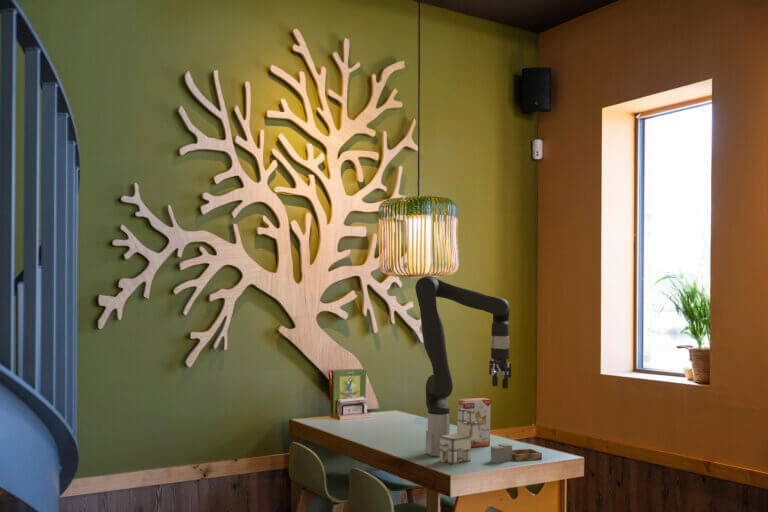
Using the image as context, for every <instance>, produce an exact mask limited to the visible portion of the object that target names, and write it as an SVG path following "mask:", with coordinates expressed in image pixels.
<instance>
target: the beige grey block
mask: <svg viewBox="0 0 768 512" xmlns="http://www.w3.org/2000/svg"><path fill="white" fill-rule="evenodd" d="M497 446H501V447H504V462H508V461H510V462H511V461H513V459H512V450H513V445H512V444H509V443H500V444H499V443H498V445H497Z"/></svg>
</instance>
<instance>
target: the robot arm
mask: <svg viewBox="0 0 768 512" xmlns="http://www.w3.org/2000/svg"><path fill="white" fill-rule="evenodd" d="M415 294H416V298H417V299H416V300H417V302H418V307H419V310H420V311H419V312H420V313H419V314H420V324H421V331H422V332H421V334H422V341H423V346H424V350H425V352H426V355H427V356H428V359H429V361H430V365H431V366H432V374H431V375H430V376H429V377H428V378H427V380H426V382H425V404H426V408H427V430H425V454H426V455H428V456H429V457H440V450H439V448H440V436H444V435H450V428H451V427H450V424H451V423H450V421H451V419H450V417H451V416H450V414H451V413H450V412H451V407H450V406H449V404H448V403H447V399H446V398H448V397H450V395H451V394H452V392H453V388H454V384H453V378H452V375H451V371H450V366H449V361H448V353H447V346H446V345H447V344H446V337H445V336H446V335H445V329H444V325H443V322H442V319H441V317H440V314H439V311H438V307H437V306H438V305H437V298H443V299H446V300H450V301H453V302H455V303H457V304H460V305H461V306H465V307H468V308H470V309H474V310H477V311H478V310H479V311H483V312H486V313H489V314H492V323H491V337H490V359H491V360H489V363H488V364H489V365H488V366H489V368H488V369H489V371H488V374H489V375H490V376H491V385H492V386H493V387H498V385H499V383H498V381H499V379H498V378H499V374H500V375H501V378H502V381H501V382H502V385H501V388H502V389H505V390H506V389H508V388H509V379H510V378H512V362H507V360H509V359H510V337H509V336H510V335H509V334H510V333H509V332H510V328H509V327H510V326H509V321H510V303H509V302H508V300H507V299H505V298H501V297H496V296H493V295H492V296H491V295H487V294H485V293H483V292H479V291H475V290H471V289H468V288H463V287H459V286H456V285H453V284H451V283H448V282H445V281H443V280H441V279H438V278H436V277H434V276H432V275H425V276H423V277H420V278H419V279H418V280H416V283H415Z"/></svg>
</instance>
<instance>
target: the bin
mask: <svg viewBox="0 0 768 512" xmlns="http://www.w3.org/2000/svg"><path fill="white" fill-rule="evenodd" d="M534 460H535V461H537V460H543V453H542V452H540V451H537V450H535V449H533V448H523V449H522V448H520V449H512V461H515V462H521V461H534Z"/></svg>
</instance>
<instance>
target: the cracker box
mask: <svg viewBox="0 0 768 512" xmlns="http://www.w3.org/2000/svg"><path fill="white" fill-rule="evenodd" d="M491 403H492V399H490V398H486V397H477V398H476V397H475V398H471V397H470V398H457V410H458V409H467V411H469V410H473V411H475V422H478V423H480V441H478V442H472V443H471V448H481V447H491V445H490V444H491ZM456 426H457V428H456V434H458V418H457V424H456Z"/></svg>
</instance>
